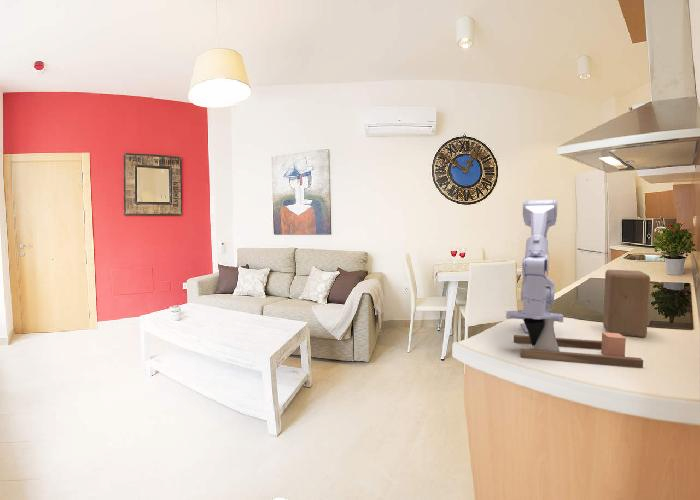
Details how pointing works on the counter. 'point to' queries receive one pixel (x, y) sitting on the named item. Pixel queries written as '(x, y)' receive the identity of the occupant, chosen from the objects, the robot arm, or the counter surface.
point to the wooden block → (626, 302)
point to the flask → (547, 337)
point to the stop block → (613, 344)
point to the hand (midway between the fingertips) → (532, 344)
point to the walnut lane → (577, 356)
